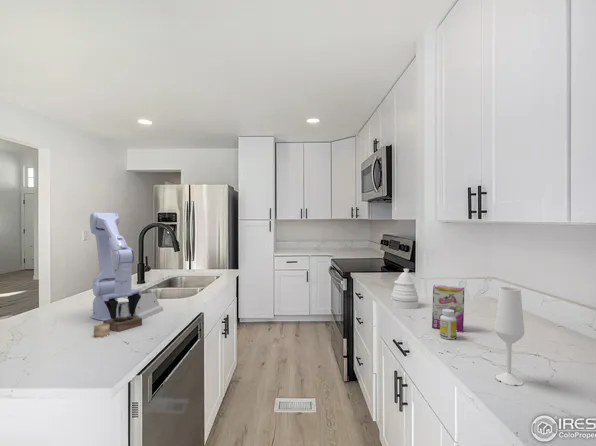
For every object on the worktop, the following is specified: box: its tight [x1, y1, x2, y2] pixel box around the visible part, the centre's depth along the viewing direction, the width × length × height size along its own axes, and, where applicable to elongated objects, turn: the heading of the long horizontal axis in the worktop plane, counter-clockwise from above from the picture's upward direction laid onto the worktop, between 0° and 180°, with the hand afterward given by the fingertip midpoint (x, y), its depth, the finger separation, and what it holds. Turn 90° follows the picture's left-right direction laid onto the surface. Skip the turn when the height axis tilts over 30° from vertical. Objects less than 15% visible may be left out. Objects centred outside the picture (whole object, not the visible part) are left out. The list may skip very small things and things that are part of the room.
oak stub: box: [93, 323, 111, 338], centre depth 120 cm, size 5×5×4 cm
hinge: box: [129, 292, 164, 321], centre depth 147 cm, size 17×5×10 cm, turn 169°
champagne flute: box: [494, 286, 525, 384], centre depth 89 cm, size 7×7×24 cm
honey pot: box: [390, 268, 419, 310], centre depth 168 cm, size 13×13×18 cm
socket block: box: [102, 316, 143, 333], centre depth 130 cm, size 10×10×3 cm
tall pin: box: [117, 301, 129, 322], centre depth 130 cm, size 4×4×9 cm
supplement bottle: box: [439, 309, 457, 340], centre depth 122 cm, size 5×5×10 cm
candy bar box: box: [431, 284, 465, 332], centre depth 132 cm, size 11×5×16 cm, turn 65°
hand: (122, 316), depth 130 cm, fingers open, 7 cm apart
